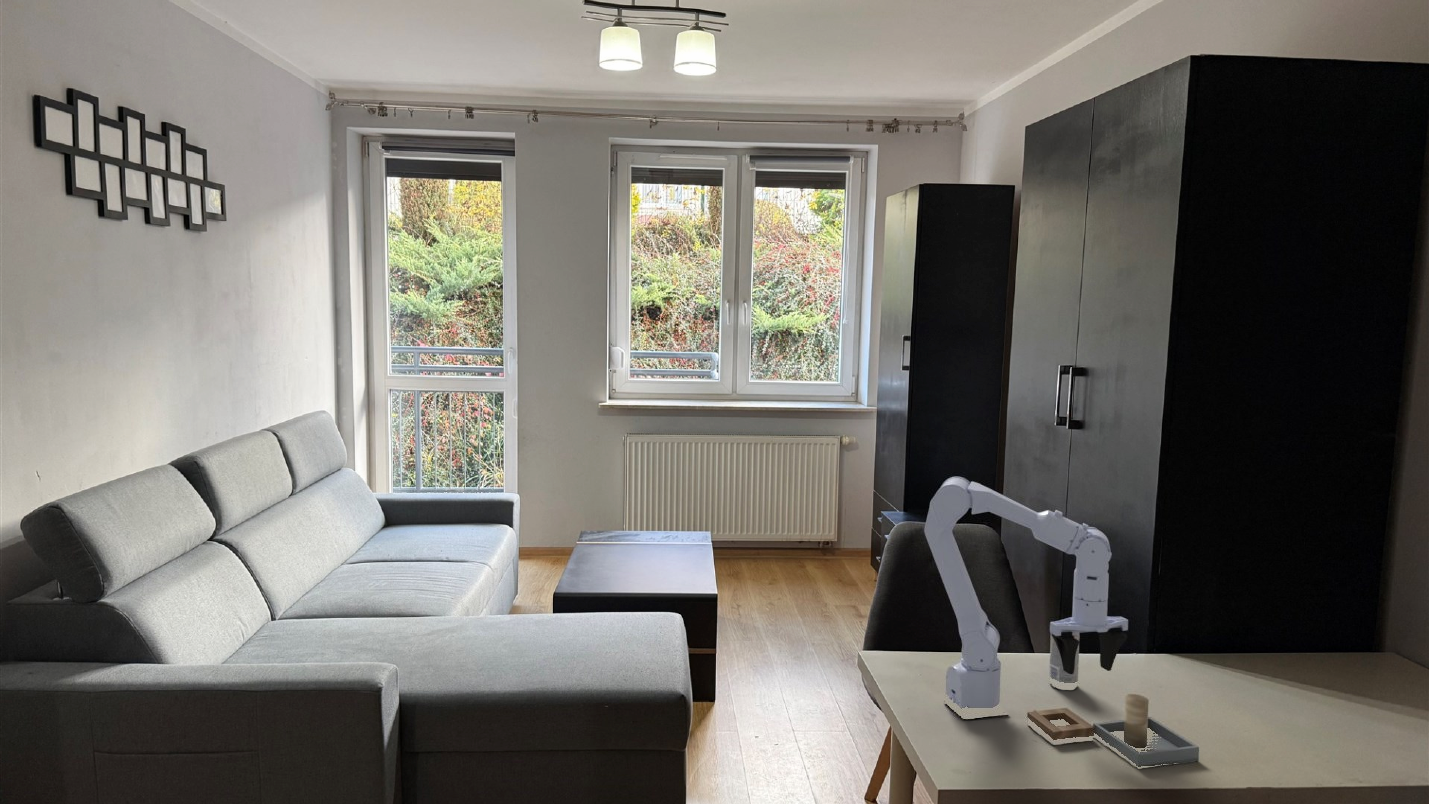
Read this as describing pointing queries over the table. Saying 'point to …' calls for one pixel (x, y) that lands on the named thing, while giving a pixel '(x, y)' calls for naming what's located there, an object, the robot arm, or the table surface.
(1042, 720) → the frame
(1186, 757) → the tray
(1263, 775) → the table surface
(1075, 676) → the energy drink
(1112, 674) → the table surface
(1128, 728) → the dowel
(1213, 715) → the table surface
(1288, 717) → the table surface
